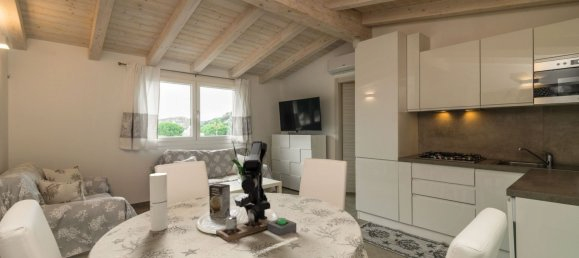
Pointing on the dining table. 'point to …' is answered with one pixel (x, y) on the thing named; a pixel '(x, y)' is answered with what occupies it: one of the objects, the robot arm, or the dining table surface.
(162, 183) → the cylindrical container
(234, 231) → the billet seated
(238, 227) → the brown wooden pocket tray
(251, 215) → the billet loose
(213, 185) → the coffee box
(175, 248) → the dining table surface
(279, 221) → the button
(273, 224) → the button housing
